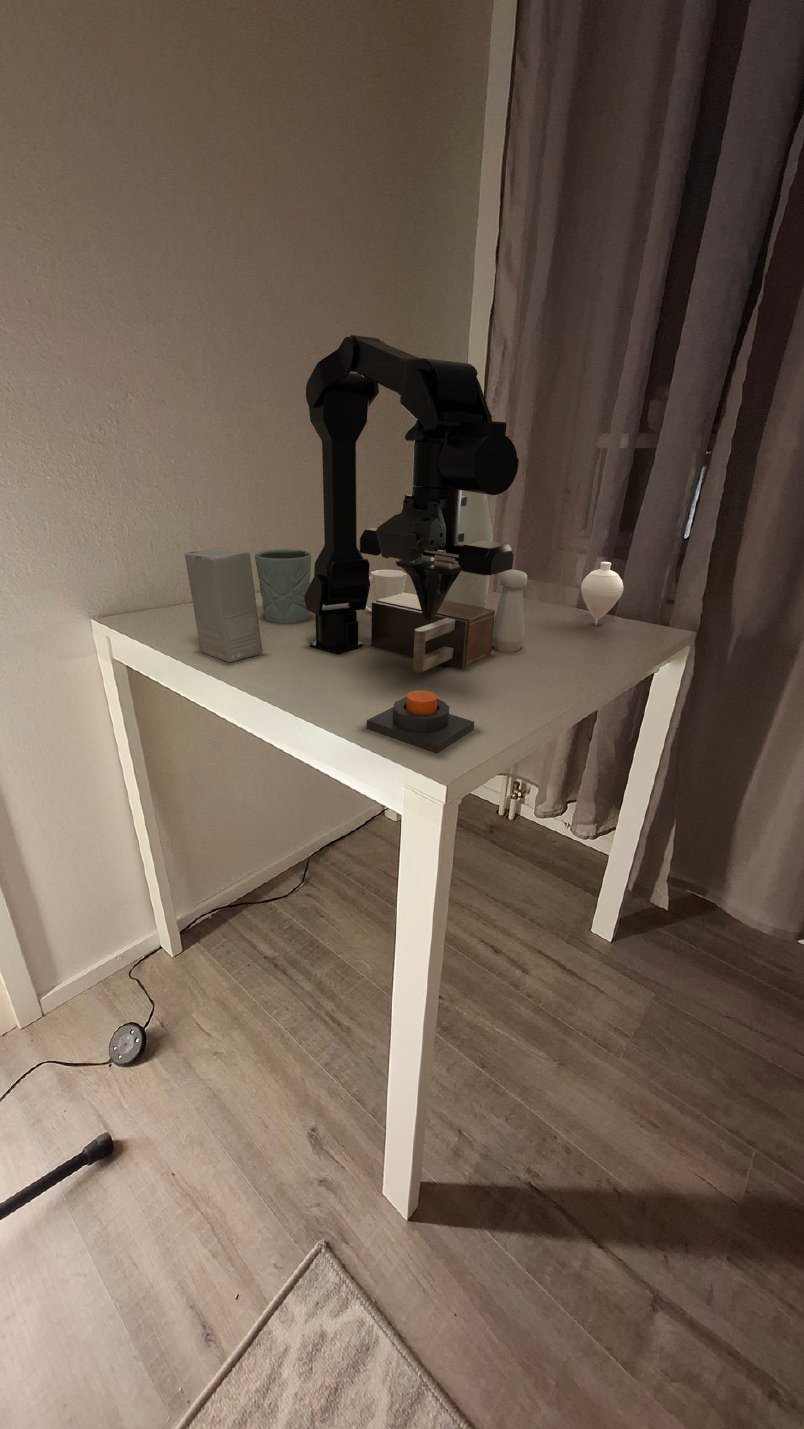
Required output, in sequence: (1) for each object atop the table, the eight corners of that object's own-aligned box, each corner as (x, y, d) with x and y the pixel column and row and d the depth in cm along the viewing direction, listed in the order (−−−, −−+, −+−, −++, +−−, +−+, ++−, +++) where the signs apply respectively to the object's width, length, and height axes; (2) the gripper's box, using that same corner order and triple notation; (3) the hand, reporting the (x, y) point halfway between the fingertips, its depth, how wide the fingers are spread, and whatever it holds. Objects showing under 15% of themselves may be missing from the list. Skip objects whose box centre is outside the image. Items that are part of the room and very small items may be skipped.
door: (429, 685, 86) (432, 634, 83) (335, 658, 96) (335, 611, 93) (464, 668, 93) (468, 620, 90) (374, 644, 103) (374, 600, 100)
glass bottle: (468, 611, 126) (479, 463, 115) (494, 624, 118) (509, 466, 106) (424, 614, 122) (431, 462, 111) (448, 628, 114) (459, 465, 102)
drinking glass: (323, 618, 117) (322, 554, 112) (281, 628, 110) (278, 560, 105) (289, 608, 123) (287, 547, 118) (247, 617, 116) (243, 552, 111)
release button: (399, 710, 72) (400, 696, 71) (417, 701, 74) (418, 687, 74) (425, 718, 70) (426, 704, 69) (442, 709, 72) (443, 695, 72)
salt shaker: (523, 656, 100) (532, 575, 95) (487, 652, 101) (495, 573, 96) (523, 645, 105) (532, 569, 100) (490, 642, 106) (497, 566, 101)
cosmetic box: (263, 655, 96) (257, 552, 90) (223, 665, 91) (213, 557, 85) (233, 643, 101) (225, 544, 95) (193, 652, 96) (182, 548, 90)
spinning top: (584, 617, 124) (593, 557, 119) (621, 624, 120) (633, 562, 115) (569, 625, 119) (578, 562, 114) (608, 632, 114) (620, 567, 110)
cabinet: (465, 668, 94) (469, 619, 91) (375, 645, 103) (375, 600, 100) (490, 656, 100) (495, 609, 96) (403, 634, 109) (404, 592, 106)
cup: (404, 619, 119) (405, 577, 115) (352, 616, 119) (352, 574, 116) (406, 610, 125) (407, 570, 122) (357, 607, 125) (357, 567, 122)
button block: (366, 729, 73) (366, 706, 71) (405, 708, 79) (406, 687, 77) (437, 754, 67) (438, 729, 66) (473, 730, 73) (475, 707, 72)
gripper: (328, 482, 69) (329, 617, 76) (470, 497, 59) (458, 651, 66) (389, 479, 77) (385, 601, 84) (523, 492, 67) (507, 629, 74)
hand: (429, 619), depth 77 cm, fingers closed
